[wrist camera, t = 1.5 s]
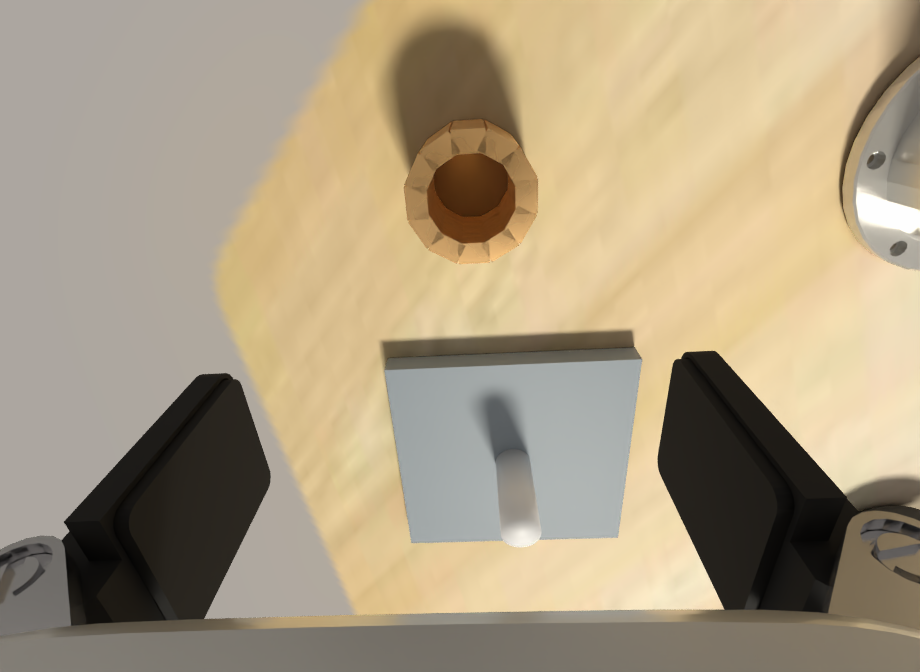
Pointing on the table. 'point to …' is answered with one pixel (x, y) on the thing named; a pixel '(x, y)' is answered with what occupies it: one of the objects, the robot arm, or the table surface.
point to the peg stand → (514, 443)
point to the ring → (476, 233)
